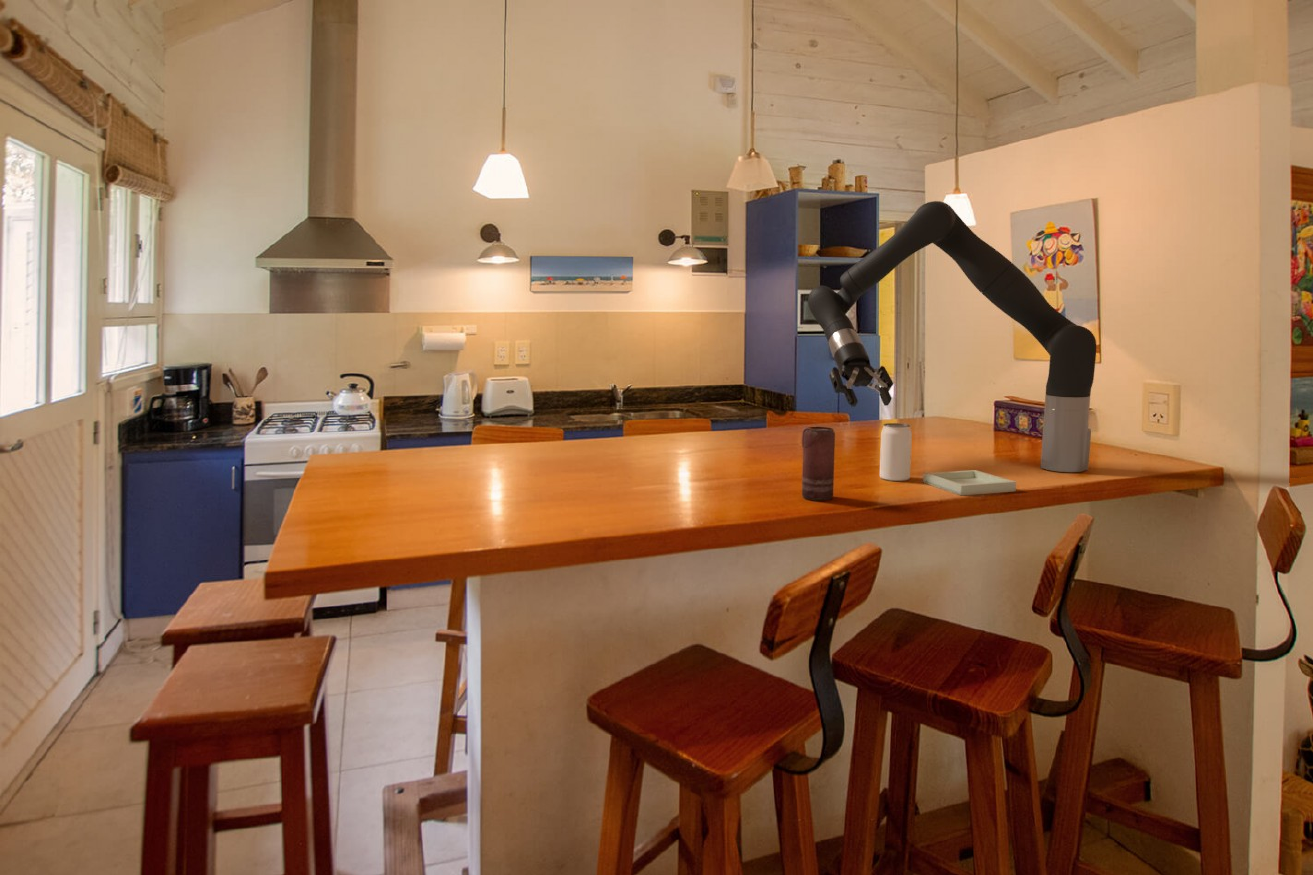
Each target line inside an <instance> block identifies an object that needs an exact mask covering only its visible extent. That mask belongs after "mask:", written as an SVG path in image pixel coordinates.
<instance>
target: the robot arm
mask: <svg viewBox="0 0 1313 875" xmlns="http://www.w3.org/2000/svg"><path fill="white" fill-rule="evenodd" d="M931 244H933V245H935V246H936V247H938V248H939V249H940V250H941V251H943V252H944V253H945V254H946V255H948V257H950V259H952V261H954V262H955V263H956V265H958V267H959V268H960V270H961V271H962V272H963V274H964V275H965V276H966V278H968V280H969V281H970V283H971V284H972V285H973V286H974V287H975V288H976V289H977V290H978V292H979V293H981V294H982V295H983V296H984V297H985V298H986V299H987V300H988V301H990V302H991V304H993V305H994V306H995V307H996V308H997V309H999V310H1000V311H1001V312H1003V313H1004V314H1006V315H1007V316H1008V317H1010V318H1011V319H1012V320H1014V321H1015V322H1017V323H1018V324H1019V325H1021V326H1022V327H1024V328H1025V329H1026V330H1027V332H1029V333H1030V335H1032V336H1033V337H1034V338H1035V339H1036V341H1037V342H1039V344H1040V345H1041V346H1042V347H1043V349H1045V351H1046V352H1047V353H1048V355H1049V366H1048V367H1049V369H1048V376H1047V380H1046V383H1045V398H1044V410H1043V411H1044V412H1043V426H1042V439H1041V440H1042V441H1041V442H1042V443H1041V456H1040V457H1041V458H1040V468H1041V469H1044V470H1047V471H1050V472H1057V473H1058V472H1061V473H1081V472H1085V471H1088V470H1089V467H1090V466H1089V462H1090V451H1091V438H1092V430H1091V428H1089V418H1090V405H1091V393H1092V391H1091V390H1092V387H1093V383H1094V378H1095V368H1096V358H1097V339H1096V337H1095V335H1094V333H1093V332H1092V331H1091V330H1089V328H1087V327H1084V326H1083V325H1077V324H1076V323H1075V322H1073V321H1072V320H1071V319H1069V318H1067V317H1066V316H1064V314H1062V313H1060V312H1059V311H1058V310H1057V309H1056V308H1055V307H1053V306H1052V305H1051V304H1050V303H1049V302H1048V300H1047V299H1046V298H1045V296H1044V295H1043V294H1042V293H1041V292H1040V290H1039V289H1038V288H1037V286H1036V285H1035V284H1034V283H1033V282H1032V280H1031V279H1030V278H1029V277H1028V276H1027V275H1026V274H1025V273H1024V272H1023V271H1022V270H1020V269H1019V268H1018V267H1017V266H1016V265H1015V264H1014V263H1013V262H1012V261H1011V260H1010V259H1009V258H1007V257H1005V255H1003V254H1002V253H1001V252H999V251H998V250H997V249H995V248H994V247H993V246H991V245H990V244H989V243H987V242H986V241H984V240H983V239H981V237H979V236H978V235H977V234H976V233H975V232H974V231H973V230H971V228H970V227H969V226H968V225H967V224H966V223H965V222H964V221H963V219H962V218H961V217H960V216H959V215H958V214H957V212H956V210H954V209H953V208H952V206H951V205H949V204H948V203H946V202H944V201H940V200H933V201H929V202H926V203H924V204H922V205H920V206H919V207H918V208H917V209H916V211H915V212H914V214H912V216H911V217H910V218H909V219H908V220H907V221H906V222H905V223H904V224H903V226H901V227H900V228H899V230H897V231H896V232H895V233H894V234H893V235H892V236H891V237H889V238H888V239H887V240H886V241H885V242H883V243H881V245H879V246H878V247H876V248H875V249H874V250H872V251H871V252H869V253H868V254H866V255H865V256H864V257H863V258H861V259H860V260H859V261H857V262H856V263H855V264H854V265H852V266H851V267H850V268H848V269H847V270H846V271H845V272H844V273H842V275H841V276H840V278H839V282H840V285H841V286H842V287H841V288H840V290H838V292H836V291H834V290H833V289H832V288H831V287H829V286H827V285H818V286H815V287H814V288H812V290H810V292H809V294H808V297H807V305H808V308H809V311H810V313H811V314H812V316H813V318H814V319H815V320H816V322H817V323H818V325H819V326H820V328H821V329H822V330H823V333H824V336H825V339H826V340H827V342H828V346H829V349H830V352H831V353H830V354H831V355H832V356H833V359H834V361H835V365H836V367H835V366H834V367H832V369H831V371H830V372H829V376H828V377H829V379H830V382H831V384H832V387H833V390H834V393H836V394H839V393H841V394H842V395H843V396H845V399H846V401H847V403H848V405H849V406H851V407H852V408H853V407H854V408H855V407H856V406H857V404H858V402H859V401H858V399H857V395H856V393H855V391H854V389H853V388H852V387H853V386H854V387H855V388H856V387H857V388H858V387H868V388H869V389H871V390H875V391H876V392H877V393H878V395H879V397H880V399H881V402H882V403H883V406H889V405H890V403H891V402H892V396H891V394H890V390H891V389H892V387H893V386H894V382H893V380H892V378H891V377H890V375H889V373H888V371H887V368H885V366H883V365H881V366H879V368H874V367H873V366H872V365H871V362H870V361H871V359H870V357H869V355H868V353H867V351H866V348H865V346H864V344H863V341H862V340H861V338H860V336H859V335H858V333H857V332H856V329H855V327H854V325H853V322H852V321H851V319H850V317H849V316H847V313H849V311H850V310H851V308H853V306H854V305H855V303H857V301H858V300H859V298H861V296H862V295H864V294H865V293H866V292H867V291H869V290H870V289H872V288H873V287H874V286H876V284H879V282H881V281H882V280H883V279H884V278H886V276H887V275H889V274H890V273H891V272H892V271H893V270H894V269H896V267H898V266H899V265H900V264H901V263H902V262H904V261H905V260H907V259H908V258H909V257H911V256H912V255H914V254H915V253H917V252H918V251H920V250H922V249H924V248H925V247H927V246H929V245H931ZM842 378H843V379H844V380H845V381H846V383H845V384H844V382H843V380H842ZM872 380H873V382H872Z"/></svg>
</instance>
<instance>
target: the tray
mask: <svg viewBox="0 0 1313 875" xmlns="http://www.w3.org/2000/svg"><path fill="white" fill-rule="evenodd" d="M923 482H924V483H923ZM922 483H923V484H926V485H928V486H932V487H935V488H938V489H940V490H943V491H947V492H950V493H952V494H956V495H958V496H972V495H986V494H987V495H988V494H999V493H1009V492H1016V491H1017V490H1016V489H1017V481H1015V480H1012V479H1008V478H1004V477H1001V476H997V475H993V474H992V473H991V474H990V473H987V472H984V471H980V470H975V469H972V470H956V471H955V470H954V471H943V472H942V471H939V472H928V473H925V472H924V473H923V474H922Z"/></svg>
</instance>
